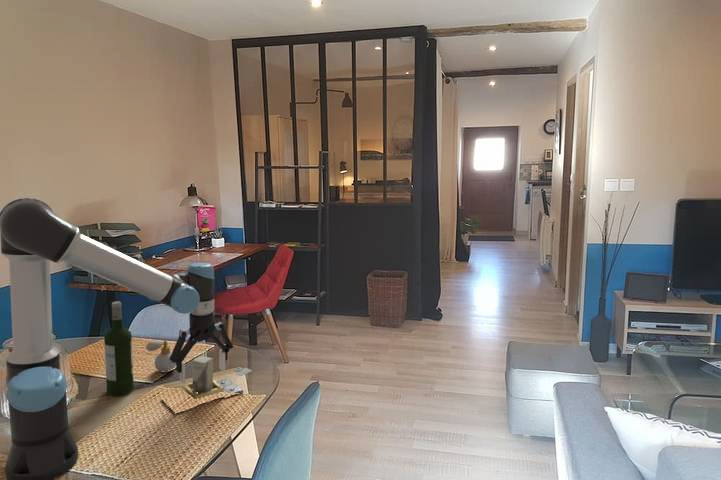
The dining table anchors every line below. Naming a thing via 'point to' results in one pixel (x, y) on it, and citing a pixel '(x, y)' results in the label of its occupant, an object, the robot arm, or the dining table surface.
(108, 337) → the wine bottle
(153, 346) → the perfume bottle
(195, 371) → the box
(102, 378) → the dining table surface
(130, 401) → the dining table surface
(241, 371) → the mounting bracket
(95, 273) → the robot arm
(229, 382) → the square hole socket
